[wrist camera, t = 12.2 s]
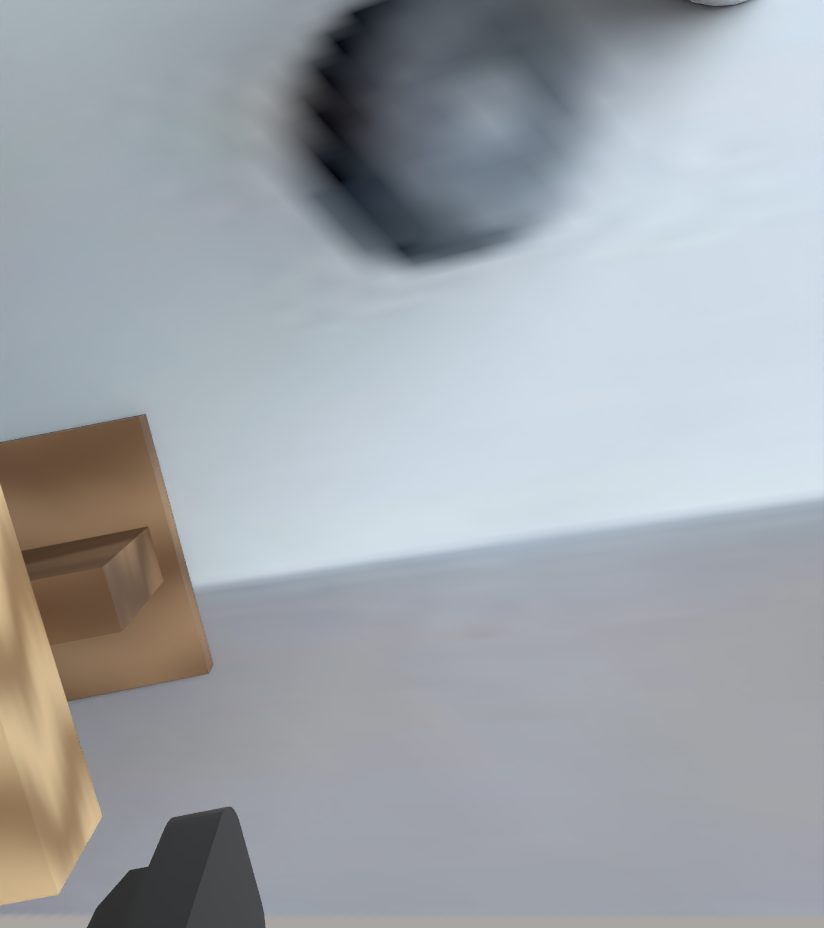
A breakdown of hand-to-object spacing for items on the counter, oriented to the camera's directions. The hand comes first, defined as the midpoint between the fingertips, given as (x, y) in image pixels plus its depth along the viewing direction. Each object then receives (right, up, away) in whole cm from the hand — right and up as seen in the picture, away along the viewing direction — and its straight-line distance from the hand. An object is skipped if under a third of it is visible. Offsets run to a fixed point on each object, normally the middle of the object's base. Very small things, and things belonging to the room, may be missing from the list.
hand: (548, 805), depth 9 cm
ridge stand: (-20, -1, +28) cm, 35 cm away
